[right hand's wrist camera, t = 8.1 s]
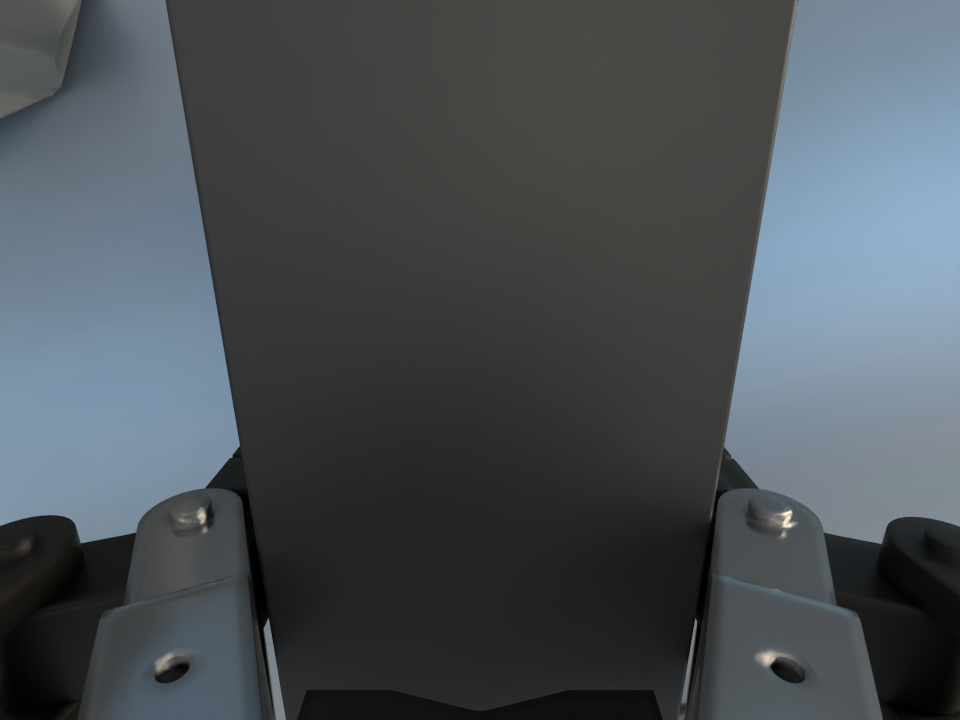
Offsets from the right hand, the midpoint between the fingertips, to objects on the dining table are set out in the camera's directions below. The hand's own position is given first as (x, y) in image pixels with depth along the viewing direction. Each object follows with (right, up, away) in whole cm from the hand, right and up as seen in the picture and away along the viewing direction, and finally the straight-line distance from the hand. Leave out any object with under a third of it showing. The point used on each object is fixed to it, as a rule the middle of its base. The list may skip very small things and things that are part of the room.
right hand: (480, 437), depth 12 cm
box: (0, +12, +3) cm, 13 cm away
